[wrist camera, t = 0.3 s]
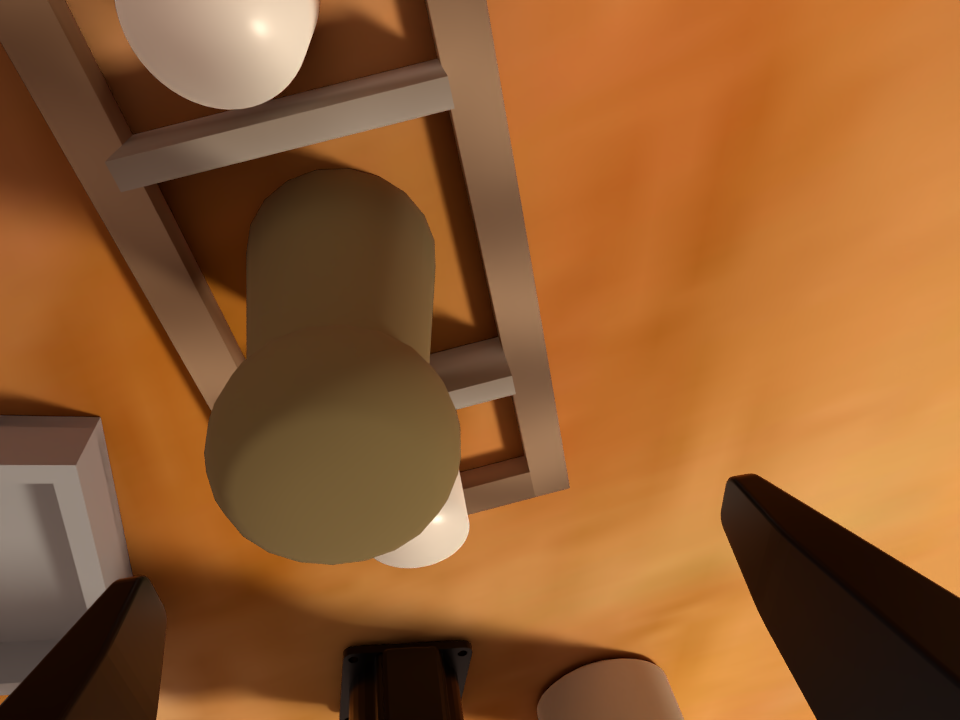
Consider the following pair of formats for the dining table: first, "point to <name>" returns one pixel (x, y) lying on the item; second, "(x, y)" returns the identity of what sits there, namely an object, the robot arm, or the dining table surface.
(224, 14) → the white short cylinder
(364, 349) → the cork
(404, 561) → the cylinder
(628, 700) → the travel mug
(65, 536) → the tray
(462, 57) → the ladder
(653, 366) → the dining table surface
